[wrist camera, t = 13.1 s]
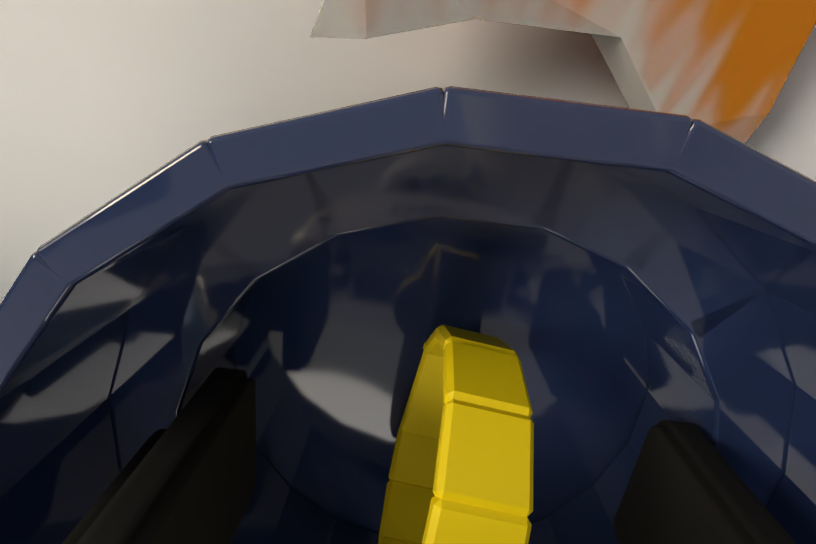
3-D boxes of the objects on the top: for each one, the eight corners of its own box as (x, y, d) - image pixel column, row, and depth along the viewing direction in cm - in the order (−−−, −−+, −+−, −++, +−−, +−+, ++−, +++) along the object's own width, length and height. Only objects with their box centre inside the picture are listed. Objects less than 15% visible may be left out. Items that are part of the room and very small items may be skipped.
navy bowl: (803, 143, 10) (1352, 197, 4) (619, 582, 14) (744, 885, 9) (153, 63, 9) (-252, -1, 4) (192, 536, 14) (45, 816, 9)
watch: (412, 276, 10) (402, 482, 5) (526, 304, 10) (648, 534, 5) (359, 470, 12) (308, 772, 7) (455, 491, 12) (482, 802, 7)
